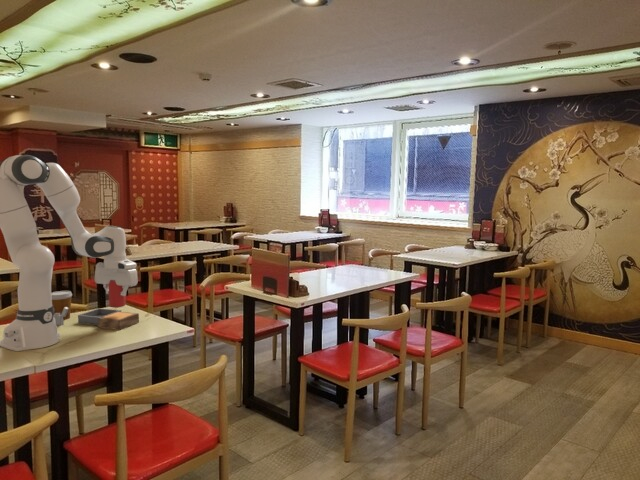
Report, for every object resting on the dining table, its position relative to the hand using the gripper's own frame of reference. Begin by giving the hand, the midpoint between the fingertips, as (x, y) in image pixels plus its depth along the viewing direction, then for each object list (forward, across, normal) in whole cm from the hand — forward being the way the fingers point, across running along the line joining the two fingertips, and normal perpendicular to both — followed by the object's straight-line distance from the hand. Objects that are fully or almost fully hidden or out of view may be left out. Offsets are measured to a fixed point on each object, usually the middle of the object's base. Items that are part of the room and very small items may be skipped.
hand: (116, 295), depth 208 cm
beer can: (+5, 0, +1) cm, 5 cm away
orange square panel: (+10, 0, +1) cm, 10 cm away
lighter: (+14, -24, -7) cm, 28 cm away
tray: (+13, -13, +4) cm, 19 cm away
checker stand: (+13, 0, +1) cm, 13 cm away
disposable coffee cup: (+14, -32, +1) cm, 35 cm away
